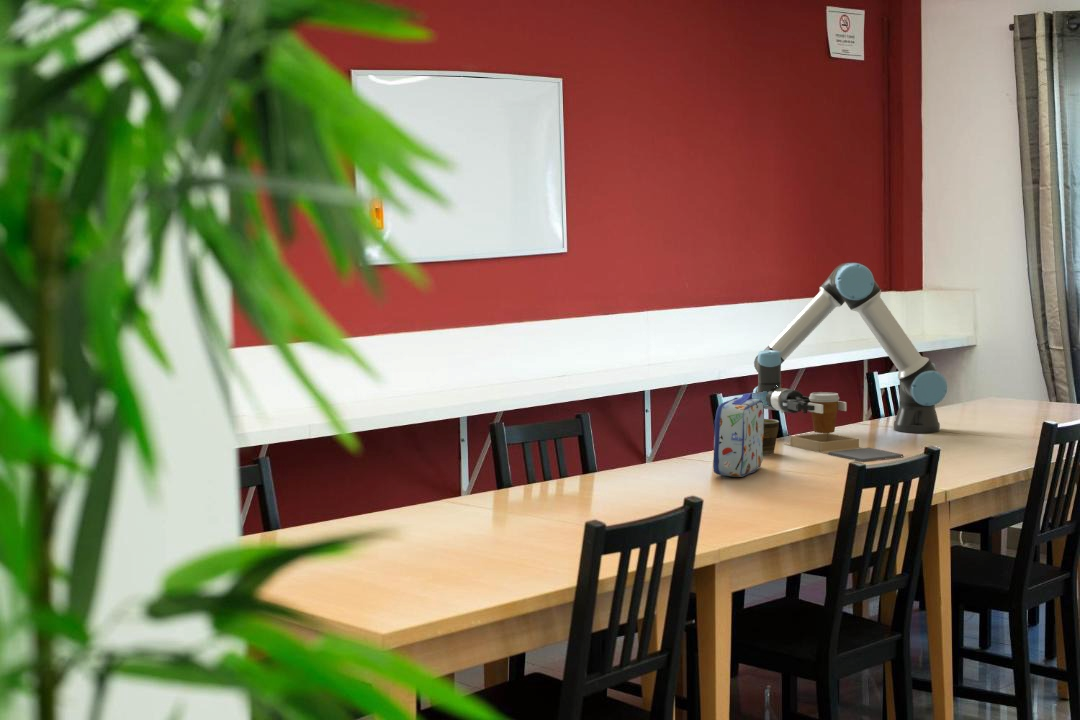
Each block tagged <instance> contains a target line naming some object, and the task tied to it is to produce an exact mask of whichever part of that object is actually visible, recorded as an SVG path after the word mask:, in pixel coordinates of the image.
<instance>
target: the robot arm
mask: <svg viewBox="0 0 1080 720" xmlns="http://www.w3.org/2000/svg"><path fill="white" fill-rule="evenodd" d="M881 294H882V289H881V288H880V286H879V284H878V283H877V281H875V278H874V275H873V273H872V271H871V270H870V269H869V267H867V266H866V265H863V264H861V263H859V262H858V263H857V262H844V263H840V264H839V265H838V266H836V267H835V268H834V270H833V271H832V272H831V273H830V275H829V276H828V277H827V279H825V281H824V282H823V283H822V284H821V285H820V286H819V291H818V293H817V294H816V295H815V296H814V297H813V298H812V299H811V300H810V301H809V302H808V303H807V305H805V307H804V308H802V310H800V312H799V313H798V314H797V315H796V316H795V317H794V318H793V319H792V320H791V321H790V322H789V323H788V324H787V326H785V328H784V329H782V331H780V333H779V334H778V335H777V336H775V338H774V339H773V340H772V341H771V342H770V343H769V345H768V346H767V347H765V349H764V350H760V351H758V352H757V355H756V357H755V358H754V362H753V366H754V369H755V370H756V373H757V381H758V382H757V386H755V387H754V389H753V391H752V393H757V392H763V391H767V392H768V394H766V395H767V396H766V401H767V402H768V403H767V405H770V406H764V409H765V410H770V411H771V410H772V411H778V412H780V413H781V414H784V413H791V414H797V413H799V412H801V411H802V413H803V414H808V412H809V413H812V412H815V413H821V414H822V413H823V405H822V404H816V403H810V399H809V397H810V396H806V395H803V393H802V392H801V391H799V390H798V389H790V388H785V387H783V388H782V382H781V381H782V364H783V363H784V362H785V360H787V358H788V357H789V356H791V354H792V353H793V352H794V351H795V350H796V349H798V347H799V346H800V345H801V344H803V342H804V341H805V340H806V338H808V337H809V336H810V334H812V333H813V332H814V330H816V328H817V327H818V326H820V324H822V322H823V321H824V320H825V319H826V318H827V317H828V316H829V315H830V314H831V313H832V312H833V311H834V309H836V308H838V307H839V308H840V307H842V306H843V305H844V304H846V305H847V306H848V307H847V308H849V309H850V311H854V312H856V313H858V314H859V315H860V317H861V318H862V320H863V321H864V323H865V325H866V326H867V327H868V329H869V330H870V331H871V333H872V335H873V336H874V337H875V339H876V340H877V341H878V343H879V345H880V346H881V348H882V349H883V350H884V351H885V353H886V354H887V356H888V357H889V359H890V361H892V363H893V364H894V366H895V367H896V369H897V370H898V374H897V375H898V376H897V379H898V380H899V397H898V398H899V403H898V410H897V414H896V418H895V420H894V421H893V430H894V431H896V432H904V433H914V434H925V433H926V434H928V433H931V434H932V433H937V432H939V431H941V424H940V421H939V419H938V418H939V417H938V414H937V411H936V405H937V404H939V403H941V402H942V400H944V399H945V397H946V395H947V392H948V383H947V381H946V378H945V376H944V375H943V374H941V373H940V371H938V370H937V369H936V364H935V363H934V362H932V361H931V360H930V358H929V357H926V356H922V355H921V354H920V353H919V351H918V349H917V348H916V347H915V345H914V344H913V342H912V341H911V339H910V337H908V335H907V334H906V332H905V331H904V329H903V328H902V326H901V325H900V324H899V322H898V321H897V319H896V317H895V316H894V315H893V313H892V312H891V310H889V307H888V306H887V305H886V303H885V302H884V300H883V299H882V298H881ZM776 385H777V386H778V387H777V386H776ZM774 387H775V388H774ZM847 408H848V407H847V402H846V401H841V400H839V401H838V407H837V411H842V412H847Z"/></svg>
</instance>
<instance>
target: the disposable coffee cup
mask: <svg viewBox="0 0 1080 720" xmlns="http://www.w3.org/2000/svg"><path fill="white" fill-rule="evenodd" d="M808 397H809V399H810V403H816V404H822V405H823V413H822V414H821V413H815V412H811V418H812V425H813V426H812V427H813V432H814V433H816V434H820V433H831V434H834V433H835V429H836V424H837V423H836V421H837V414H838V410H837V407H838V401H840V399H841V398H840V396H839V393H837V392H828V391H827V392H823V391H819V392H811V393H809V396H808Z"/></svg>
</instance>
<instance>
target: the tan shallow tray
mask: <svg viewBox="0 0 1080 720" xmlns="http://www.w3.org/2000/svg"><path fill="white" fill-rule="evenodd" d="M789 441H790V442H785V443H784V444H783V445H785V446H789V447H794V448H799V449H803V450H806V451H807V450H808V451H812V452H818V453H822V454H825V455H826V454H827V455H828V452H832V451H841V450H851V449H860V448H862V447H860V439H859V438H856V437H850V436H846V435H841V434H835V433H812V434H802V435H800V434H799V435H792V436H791V435H790V438H789Z"/></svg>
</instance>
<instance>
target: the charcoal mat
mask: <svg viewBox="0 0 1080 720" xmlns="http://www.w3.org/2000/svg"><path fill="white" fill-rule="evenodd" d="M827 455H829V456H834V457H839V458H843V459H847V460H851V459H855V460H854V461H857V462H861V463H864V462H870V461H871V462H872V461H878V460H877V459H882V460H886V459H885V458H891V459H896V458H895V457H900V458H902V457H901V456H903V457H904V454H903V453H898V452H892V451H888V450H884V449H878V448H875V447H874V448H873V447H861V448H860V449H851V450H841V451H832V452H828V454H827Z"/></svg>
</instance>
